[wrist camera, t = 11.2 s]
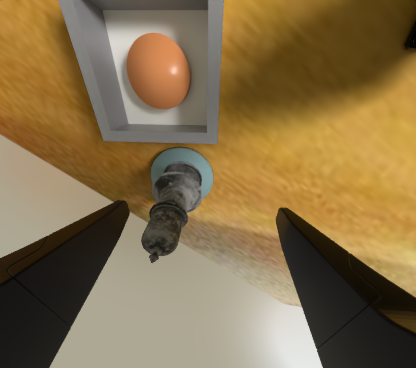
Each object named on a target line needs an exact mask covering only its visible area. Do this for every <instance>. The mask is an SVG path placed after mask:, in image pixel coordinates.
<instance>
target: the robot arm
mask: <svg viewBox="0 0 416 368" xmlns="http://www.w3.org/2000/svg"><path fill="white" fill-rule="evenodd" d="M414 39H415V42H414V44H413V41H414ZM405 49H407V50H416V22H415V24H414V26H413V28H412V30H411V32H410V34H409V36H408V38H407V40H406V43H405ZM129 213H130V212H129V208H128V205H127V202H126V201H124V200H118V201H116V202H114V203H112V204H110V205H108V206H106V207H104V208H102V209H100V210H98V211H96V212H94V213H92V214H90V215H88V216H86V217H84V218H82V219H80V220H78V221H76V222H74V223H72V224H70V225H68V226H66V227H64V228H62V229H60V230H58V231H56V232H54V233H52V234H50V235H49V236H46V237H44V238H42V239H40V240H38V241H36V242H34V243H32V244H30V245H28V246H26V247H24V248H22V249H19V250H17V251H15V252H13V253H11V254H8V255H6V256H4V257H2V258H0V368H49V367H50V365H51V363H52V361H53V360H54V358H55V356H56V354H57V352H58V350H59V348H60V347H61V345H62V343H63V341H64V339H65V338H66V336H67V334H68V332H69V330H70V328H71V326H72V324H73V323H74V321H75V319H76V317H77V315H78V313H79V312H80V310H81V308H82V306H83V304H84V302H85V301H86V299H87V297H88V295H89V293H90V291H91V290H92V288H93V286H94V284H95V282H96V280H97V279H98V276H99V275H100V273H101V271H102V269H103V267H104V266H105V264H106V262H107V260H108V258H109V256H110V255H111V253H112V251H113V249H114V247H115V245H116V243H117V242H118V240H119V238H120V236H121V233H122V231H123V229H124V226H125V224H126V221H127V219H128V217H129ZM276 225H277V229H278V234H279V238H280V243H281V247H282V250H283V253H284V256H285V259H286V262H287V265H288V268H289V270H290V273H291V276H292V279H293V282H294V285H295V288H296V291H297V294H298V297H299V299H300V302H301V305H302V308H303V311H304V314H305V317H306V320H307V322H308V325H309V328H310V331H311V334H312V337H313V340H314V343H315V346H316V348H317V352H318V355H319V358H320V361H321V363H322V366H323V368H416V297H414V296H413V295H411V294H409V293H408V292H406V291H405V290H403V289H402V288H400V287H399V286H397V285H396V284H394V283H393V282H391V281H389V280H388V279H386V278H385V277H383V276H382V275H380V274H379V273H377V272H376V271H374V270H373V269H372V268H370V267H369V266H367V265H366V264H364V263H363V262H362V261H360V260H359V259H357V258H356V257H355V256H353V255H352V254H350V253H349V252H348V251H346V250H345V249H343V248H342V247H341V246H339V245H338V244H337V243H335V242H334V241H332V240H331V239H330V238H328V237H327V236H326V235H324V234H323V233H321V232H320V231H319V230H317V229H316V228H315V227H313V226H312V225H310V224H309V223H308V222H306V221H305V220H303V219H302V218H301V217H299V216H298V215H297V214H295V213H294V212H292V211H291V210H290V209H288V208H279V210H278V213H277V216H276Z"/></svg>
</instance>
